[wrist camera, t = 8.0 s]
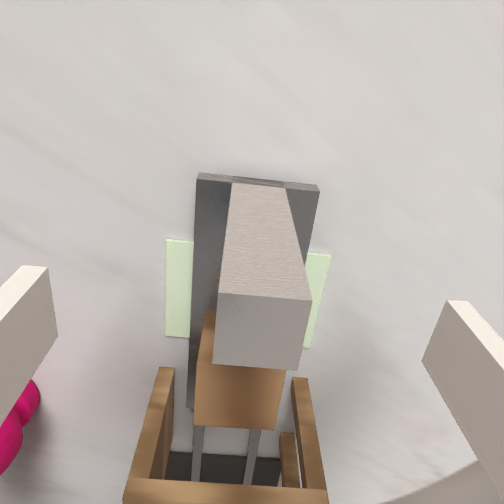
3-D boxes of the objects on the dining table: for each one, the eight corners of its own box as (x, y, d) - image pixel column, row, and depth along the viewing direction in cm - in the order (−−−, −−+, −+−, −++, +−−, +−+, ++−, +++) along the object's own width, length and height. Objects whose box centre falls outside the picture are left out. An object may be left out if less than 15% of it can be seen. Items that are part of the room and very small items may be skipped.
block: (202, 365, 28) (193, 424, 24) (205, 310, 26) (196, 364, 22) (270, 371, 29) (273, 430, 24) (279, 316, 26) (285, 371, 22)
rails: (190, 499, 40) (189, 505, 39) (208, 207, 25) (207, 210, 24) (246, 503, 40) (246, 508, 39) (298, 216, 25) (299, 219, 25)
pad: (165, 333, 29) (165, 335, 29) (166, 238, 26) (165, 241, 25) (309, 344, 30) (309, 347, 30) (330, 254, 26) (331, 256, 26)
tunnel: (159, 433, 35) (127, 568, 26) (159, 366, 31) (122, 498, 22) (292, 442, 35) (306, 577, 26) (307, 378, 32) (330, 510, 23)
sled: (188, 395, 31) (156, 577, 21) (199, 172, 23) (153, 286, 12) (274, 401, 32) (286, 583, 21) (316, 184, 23) (374, 306, 12)
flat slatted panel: (164, 495, 39) (164, 498, 39) (164, 451, 36) (164, 454, 36) (272, 501, 40) (272, 505, 40) (282, 458, 37) (282, 462, 36)
